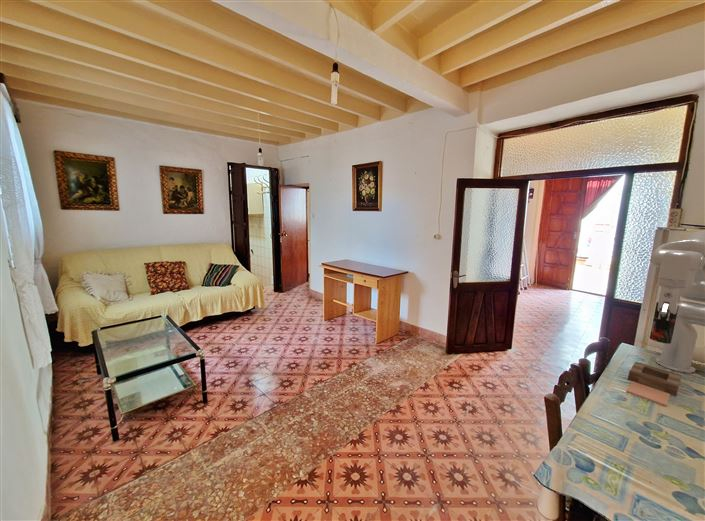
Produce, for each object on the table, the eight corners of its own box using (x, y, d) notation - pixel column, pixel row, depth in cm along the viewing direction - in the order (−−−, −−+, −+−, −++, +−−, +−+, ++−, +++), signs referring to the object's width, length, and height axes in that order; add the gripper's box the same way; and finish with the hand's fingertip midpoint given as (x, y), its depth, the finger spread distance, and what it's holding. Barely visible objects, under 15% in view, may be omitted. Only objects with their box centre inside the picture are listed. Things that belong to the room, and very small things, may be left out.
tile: (631, 382, 122) (632, 381, 121) (669, 395, 113) (670, 394, 113) (626, 392, 115) (626, 390, 115) (666, 406, 106) (666, 404, 106)
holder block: (634, 369, 132) (635, 361, 132) (679, 383, 121) (681, 375, 121) (627, 379, 124) (629, 371, 123) (676, 396, 113) (678, 387, 112)
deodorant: (675, 344, 112) (683, 306, 110) (659, 343, 112) (666, 306, 110) (660, 337, 118) (668, 302, 116) (645, 336, 118) (652, 301, 116)
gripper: (684, 288, 103) (674, 335, 106) (688, 282, 114) (678, 326, 117) (654, 284, 109) (645, 329, 112) (660, 279, 120) (652, 320, 122)
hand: (662, 327), depth 114 cm, fingers closed on deodorant, 6 cm apart
